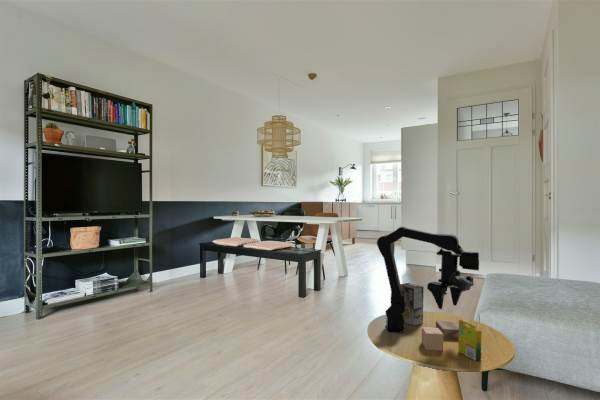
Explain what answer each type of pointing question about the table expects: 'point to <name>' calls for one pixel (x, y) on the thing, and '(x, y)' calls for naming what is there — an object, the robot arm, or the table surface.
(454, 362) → the table surface
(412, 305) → the coffee box
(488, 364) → the table surface
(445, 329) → the walnut block
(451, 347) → the table surface
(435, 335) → the pink cube
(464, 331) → the crayon box
